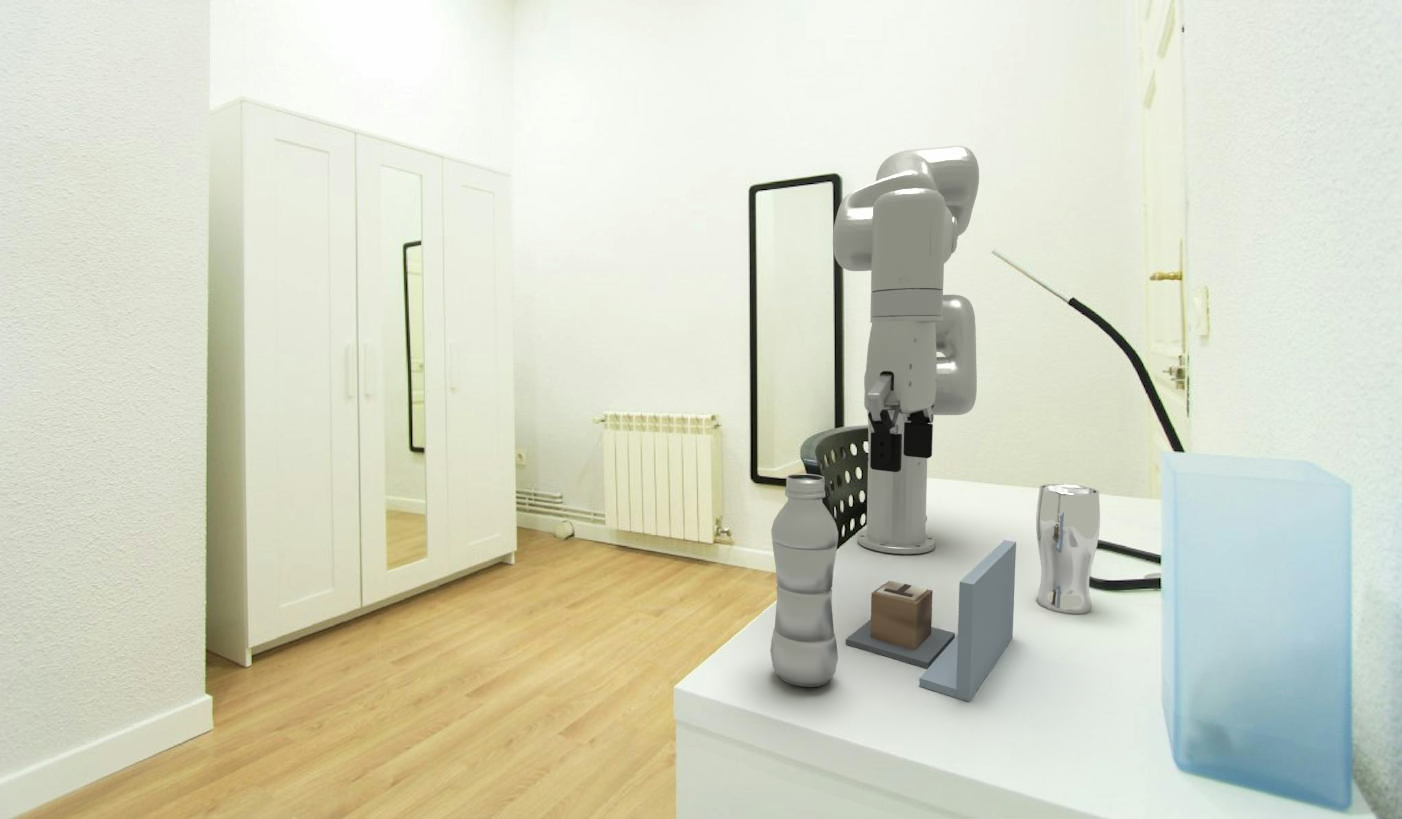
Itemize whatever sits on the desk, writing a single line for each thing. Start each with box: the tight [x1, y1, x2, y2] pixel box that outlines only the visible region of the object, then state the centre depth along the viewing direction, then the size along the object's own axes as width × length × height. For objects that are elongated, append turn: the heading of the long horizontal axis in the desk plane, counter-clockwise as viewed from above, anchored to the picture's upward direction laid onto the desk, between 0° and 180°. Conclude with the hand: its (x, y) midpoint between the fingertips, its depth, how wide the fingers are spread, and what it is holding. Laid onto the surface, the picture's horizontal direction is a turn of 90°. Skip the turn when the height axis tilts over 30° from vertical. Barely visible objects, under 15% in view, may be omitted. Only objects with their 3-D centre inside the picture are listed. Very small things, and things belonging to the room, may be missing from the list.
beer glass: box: [1035, 483, 1101, 615], centre depth 81 cm, size 7×7×15 cm
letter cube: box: [870, 580, 933, 650], centre depth 71 cm, size 5×5×5 cm
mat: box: [845, 619, 956, 669], centre depth 71 cm, size 9×9×1 cm
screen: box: [918, 540, 1017, 703], centre depth 66 cm, size 17×5×11 cm, turn 142°
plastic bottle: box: [769, 473, 839, 688], centre depth 62 cm, size 6×7×20 cm
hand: (902, 463), depth 71 cm, fingers open, 9 cm apart
